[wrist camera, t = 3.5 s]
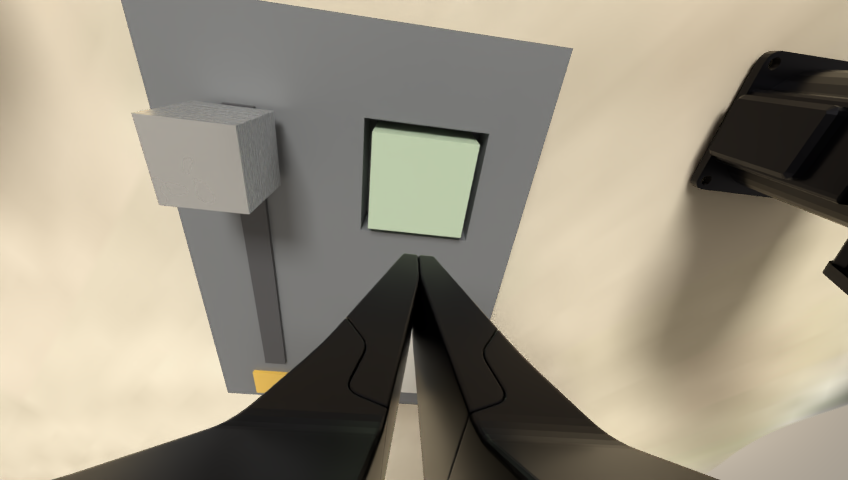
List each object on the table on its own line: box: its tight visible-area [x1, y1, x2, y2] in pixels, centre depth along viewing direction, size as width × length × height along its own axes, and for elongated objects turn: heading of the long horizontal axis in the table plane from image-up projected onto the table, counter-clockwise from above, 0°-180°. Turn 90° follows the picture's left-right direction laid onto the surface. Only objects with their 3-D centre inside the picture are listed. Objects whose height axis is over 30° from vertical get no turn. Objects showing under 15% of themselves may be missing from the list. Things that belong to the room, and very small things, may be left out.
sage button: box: [368, 121, 480, 238], centre depth 15 cm, size 4×4×2 cm
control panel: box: [121, 0, 573, 404], centre depth 18 cm, size 16×22×3 cm
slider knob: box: [132, 101, 281, 214], centre depth 12 cm, size 3×3×3 cm
